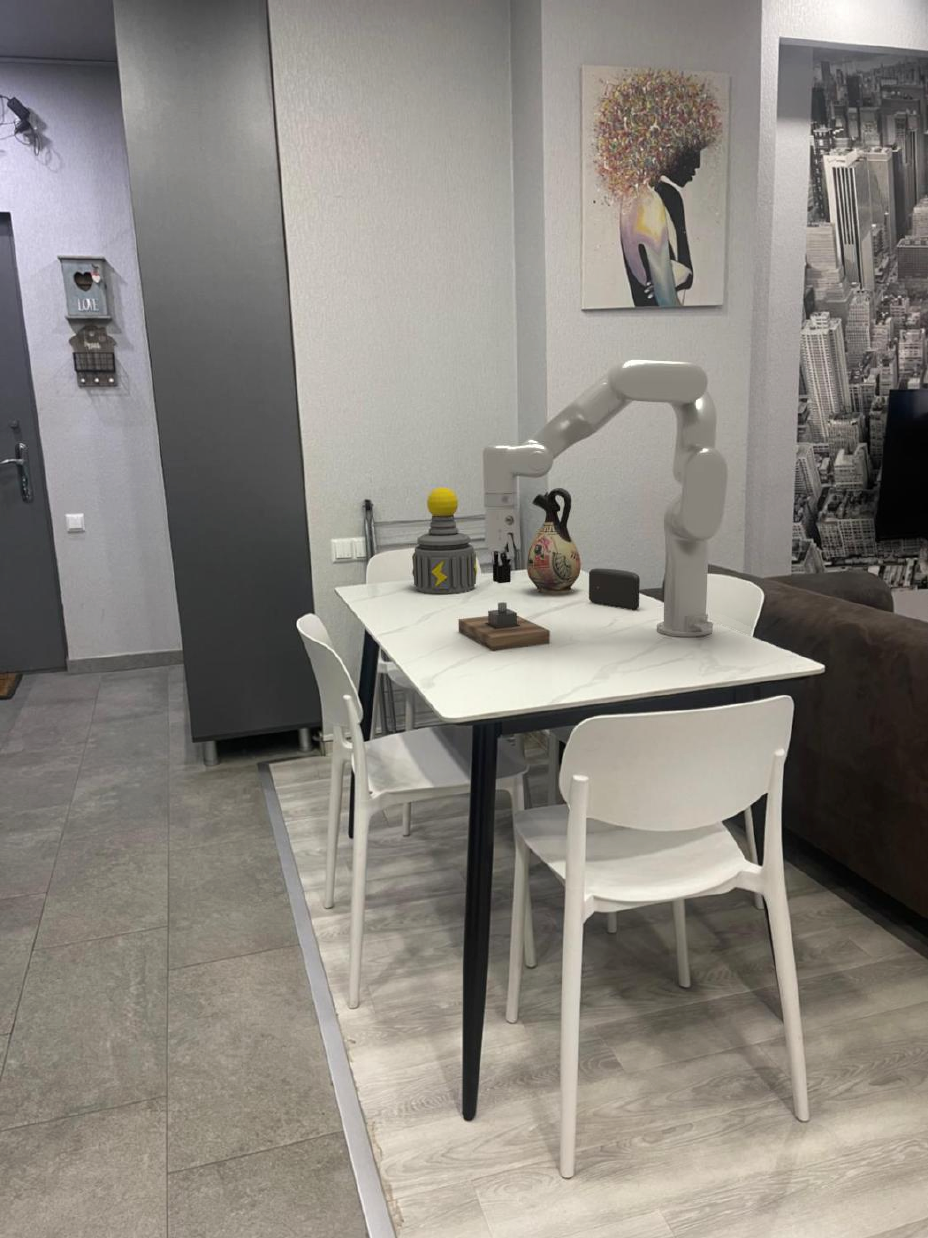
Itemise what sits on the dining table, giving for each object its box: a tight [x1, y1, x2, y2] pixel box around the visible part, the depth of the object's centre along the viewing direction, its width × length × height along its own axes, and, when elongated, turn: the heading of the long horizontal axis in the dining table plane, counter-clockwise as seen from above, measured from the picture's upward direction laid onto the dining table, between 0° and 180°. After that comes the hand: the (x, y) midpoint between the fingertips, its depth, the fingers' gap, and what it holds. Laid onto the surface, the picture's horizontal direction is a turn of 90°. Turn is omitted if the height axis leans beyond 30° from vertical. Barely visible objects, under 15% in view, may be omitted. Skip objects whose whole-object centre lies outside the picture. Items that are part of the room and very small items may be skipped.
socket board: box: [458, 615, 551, 652], centre depth 206 cm, size 20×14×3 cm
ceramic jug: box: [526, 487, 582, 596], centre depth 252 cm, size 17×15×30 cm
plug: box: [487, 601, 518, 629], centre depth 205 cm, size 5×5×7 cm
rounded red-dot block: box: [588, 567, 641, 611], centre depth 236 cm, size 16×5×9 cm, turn 42°
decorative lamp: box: [411, 486, 478, 595], centre depth 262 cm, size 19×19×30 cm
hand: (501, 581), depth 203 cm, fingers closed
